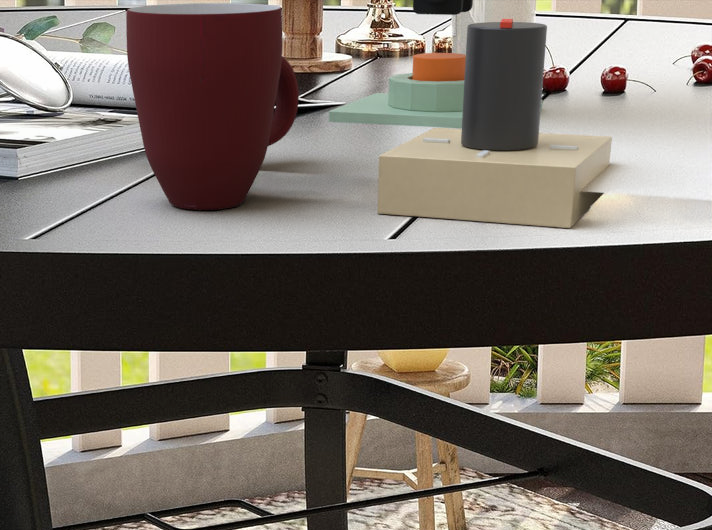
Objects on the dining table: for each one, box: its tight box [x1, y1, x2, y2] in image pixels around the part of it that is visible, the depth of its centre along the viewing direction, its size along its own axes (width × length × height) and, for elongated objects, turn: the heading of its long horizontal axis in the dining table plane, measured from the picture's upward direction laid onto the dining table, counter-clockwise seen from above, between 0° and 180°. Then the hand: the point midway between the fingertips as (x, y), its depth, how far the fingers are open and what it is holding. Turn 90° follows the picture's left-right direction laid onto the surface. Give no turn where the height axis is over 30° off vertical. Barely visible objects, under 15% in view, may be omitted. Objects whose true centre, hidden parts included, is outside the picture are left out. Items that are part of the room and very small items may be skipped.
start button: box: [411, 52, 466, 81], centre depth 93 cm, size 4×4×2 cm
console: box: [376, 127, 613, 229], centre depth 74 cm, size 10×10×3 cm
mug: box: [125, 2, 300, 211], centre depth 75 cm, size 10×8×10 cm
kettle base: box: [328, 72, 544, 129], centre depth 94 cm, size 12×10×4 cm
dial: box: [461, 18, 548, 151], centre depth 73 cm, size 4×4×6 cm
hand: (442, 10), depth 92 cm, fingers closed
